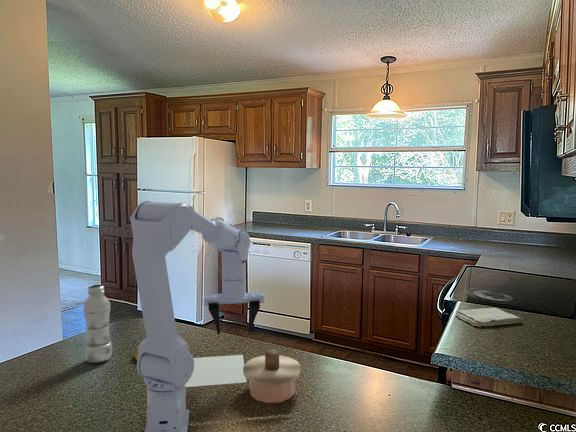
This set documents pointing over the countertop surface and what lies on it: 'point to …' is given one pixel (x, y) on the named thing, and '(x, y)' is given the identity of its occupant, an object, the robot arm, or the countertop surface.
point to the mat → (217, 371)
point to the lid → (272, 369)
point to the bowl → (272, 392)
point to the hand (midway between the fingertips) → (234, 331)
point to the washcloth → (486, 315)
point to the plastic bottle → (97, 325)
